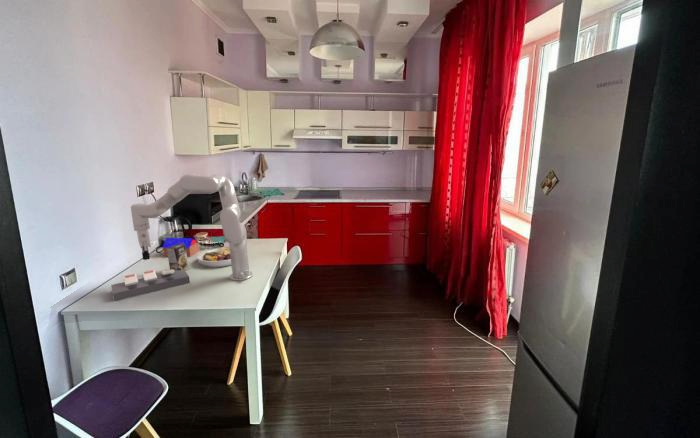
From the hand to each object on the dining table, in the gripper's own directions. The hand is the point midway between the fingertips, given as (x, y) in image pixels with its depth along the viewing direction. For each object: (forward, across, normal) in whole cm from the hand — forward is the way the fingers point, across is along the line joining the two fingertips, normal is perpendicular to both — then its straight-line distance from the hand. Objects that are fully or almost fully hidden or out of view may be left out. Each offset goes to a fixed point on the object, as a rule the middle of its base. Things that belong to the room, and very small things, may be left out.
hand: (146, 259), depth 203 cm
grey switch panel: (+14, -7, 0) cm, 16 cm away
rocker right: (+9, -4, -9) cm, 13 cm away
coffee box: (+14, +9, -17) cm, 24 cm away
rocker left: (+9, -4, +9) cm, 13 cm away
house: (+15, +47, -25) cm, 55 cm away
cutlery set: (+15, +58, -48) cm, 77 cm away
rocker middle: (+9, -4, 0) cm, 10 cm away
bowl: (+14, +14, -44) cm, 48 cm away
